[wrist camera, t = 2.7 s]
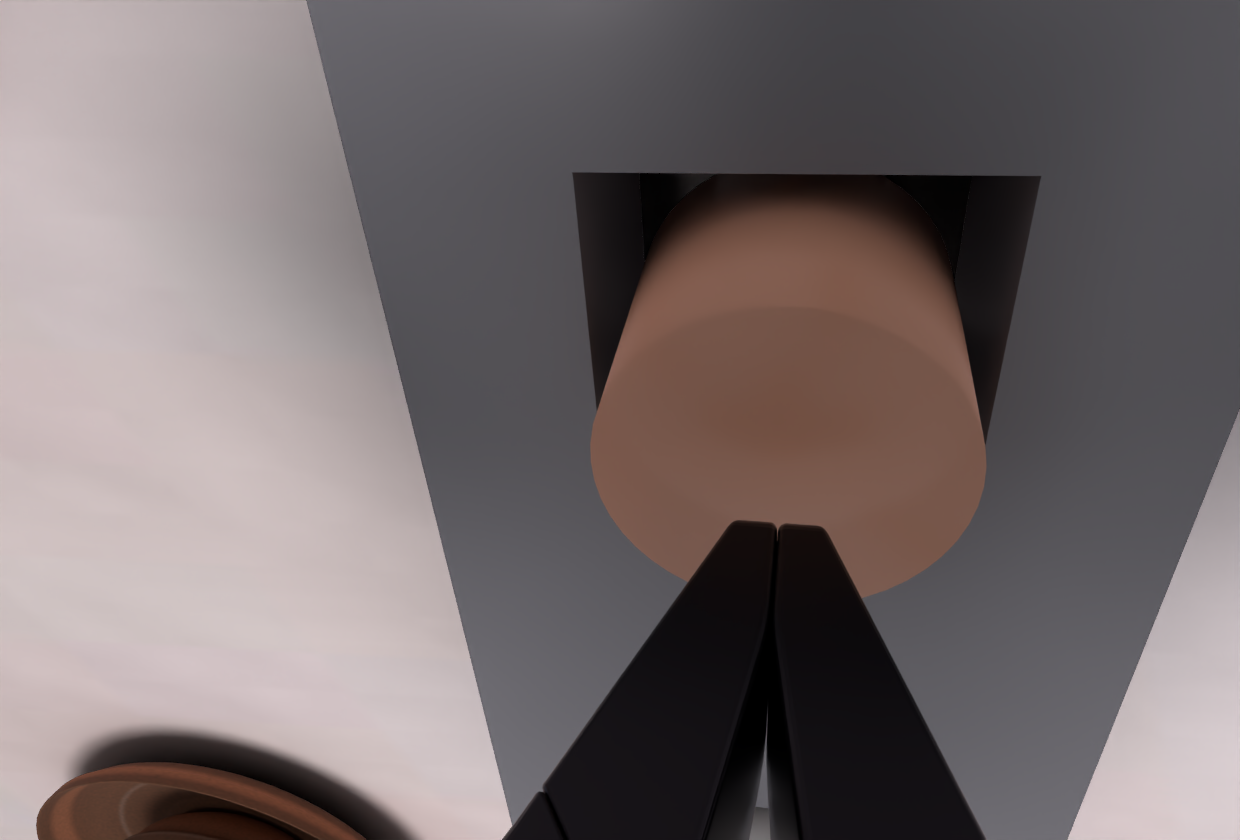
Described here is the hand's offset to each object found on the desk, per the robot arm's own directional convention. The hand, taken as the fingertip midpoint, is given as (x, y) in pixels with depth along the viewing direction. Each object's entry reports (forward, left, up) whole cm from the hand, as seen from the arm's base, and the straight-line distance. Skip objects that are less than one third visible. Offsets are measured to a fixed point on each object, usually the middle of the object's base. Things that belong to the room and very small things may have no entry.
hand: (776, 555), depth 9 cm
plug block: (0, +6, -7) cm, 9 cm away
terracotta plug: (0, 0, -5) cm, 5 cm away
